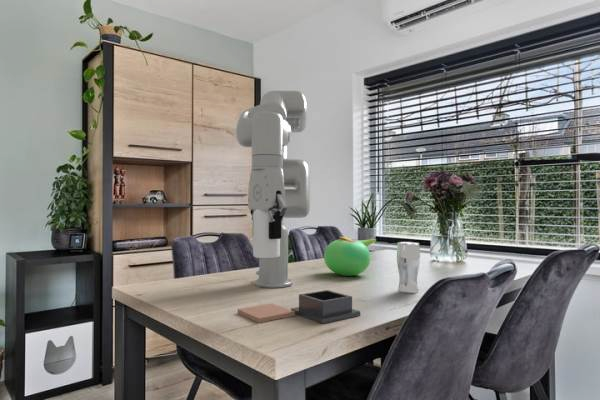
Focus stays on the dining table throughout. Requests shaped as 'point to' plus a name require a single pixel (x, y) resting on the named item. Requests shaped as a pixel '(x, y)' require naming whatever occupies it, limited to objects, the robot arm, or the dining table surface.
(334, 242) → the green round teapot
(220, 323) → the dining table surface
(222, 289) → the dining table surface
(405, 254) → the beer glass
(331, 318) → the sleeve
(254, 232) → the can
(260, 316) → the mat
